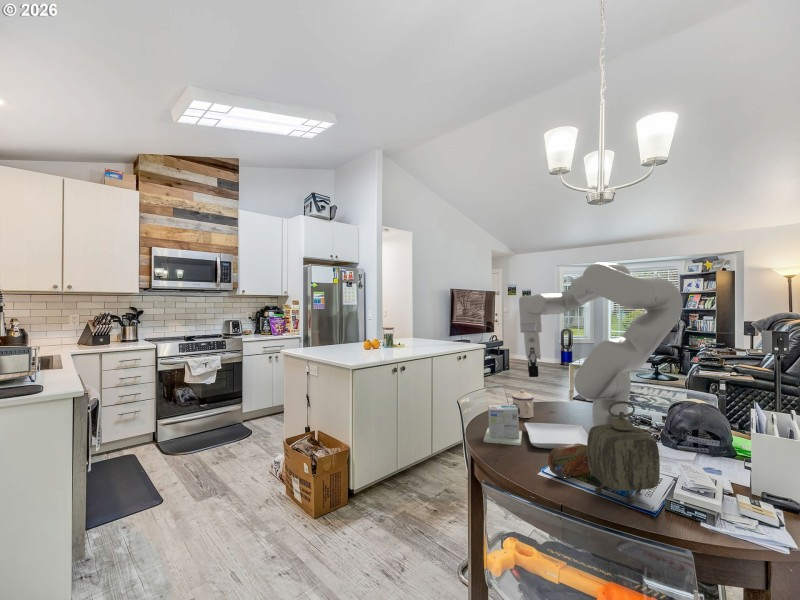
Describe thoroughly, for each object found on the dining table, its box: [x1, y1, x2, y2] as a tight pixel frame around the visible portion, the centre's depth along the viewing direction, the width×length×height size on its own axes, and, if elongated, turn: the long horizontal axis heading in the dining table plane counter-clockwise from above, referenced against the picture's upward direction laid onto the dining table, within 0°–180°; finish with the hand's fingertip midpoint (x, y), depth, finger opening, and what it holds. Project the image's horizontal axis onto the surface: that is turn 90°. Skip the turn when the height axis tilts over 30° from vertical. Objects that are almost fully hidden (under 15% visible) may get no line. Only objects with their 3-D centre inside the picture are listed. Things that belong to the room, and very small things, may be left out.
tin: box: [547, 443, 591, 479], centre depth 111 cm, size 15×3×8 cm, turn 106°
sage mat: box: [483, 427, 523, 446], centre depth 142 cm, size 13×13×1 cm
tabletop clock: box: [587, 401, 661, 504], centre depth 97 cm, size 14×9×25 cm, turn 92°
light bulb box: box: [487, 404, 520, 438], centre depth 141 cm, size 11×7×11 cm, turn 82°
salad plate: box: [523, 422, 588, 450], centre depth 137 cm, size 21×21×3 cm
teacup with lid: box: [511, 389, 534, 419], centre depth 166 cm, size 12×9×12 cm
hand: (533, 374), depth 139 cm, fingers open, 9 cm apart
